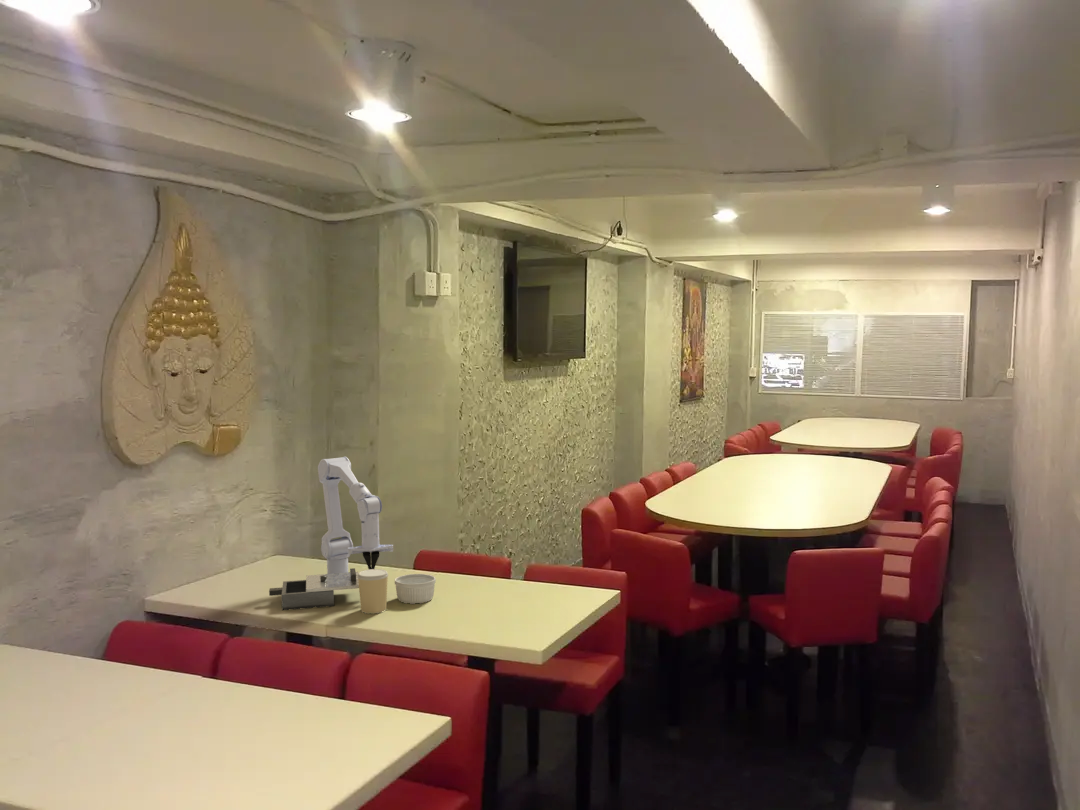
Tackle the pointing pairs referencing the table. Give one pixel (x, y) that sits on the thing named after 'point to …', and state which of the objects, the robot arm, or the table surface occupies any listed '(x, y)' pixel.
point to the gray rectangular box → (302, 596)
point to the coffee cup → (373, 590)
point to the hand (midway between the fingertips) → (371, 573)
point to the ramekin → (415, 588)
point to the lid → (332, 581)
